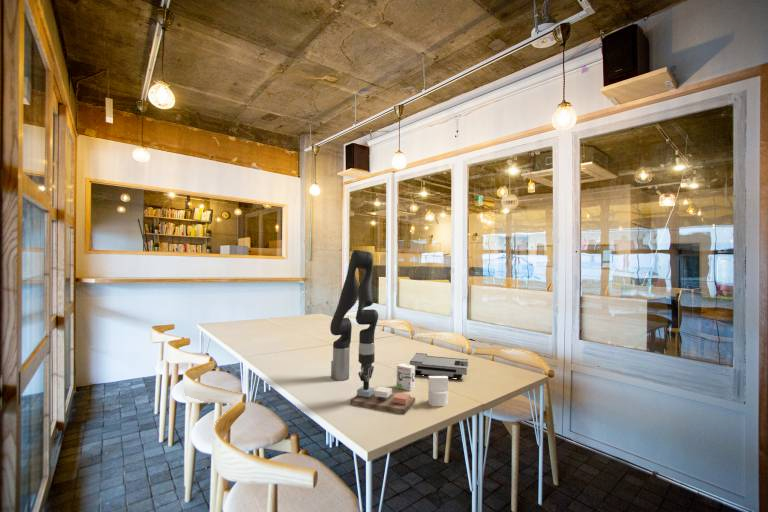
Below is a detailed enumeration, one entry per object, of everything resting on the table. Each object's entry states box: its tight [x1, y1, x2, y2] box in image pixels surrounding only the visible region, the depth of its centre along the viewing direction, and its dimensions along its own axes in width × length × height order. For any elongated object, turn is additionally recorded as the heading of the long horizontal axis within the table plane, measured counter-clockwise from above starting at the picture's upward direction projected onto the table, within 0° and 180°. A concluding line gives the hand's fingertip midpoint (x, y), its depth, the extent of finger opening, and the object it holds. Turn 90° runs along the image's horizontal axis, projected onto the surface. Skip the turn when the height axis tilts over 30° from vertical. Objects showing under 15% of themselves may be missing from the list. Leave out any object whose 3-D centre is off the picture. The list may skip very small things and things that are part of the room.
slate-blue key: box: [356, 386, 375, 397], centre depth 169 cm, size 6×6×2 cm
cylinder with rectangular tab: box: [427, 376, 449, 407], centre depth 167 cm, size 9×9×12 cm
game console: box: [409, 352, 469, 379], centre depth 213 cm, size 21×32×8 cm, turn 74°
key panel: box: [350, 390, 416, 415], centre depth 165 cm, size 26×15×4 cm, turn 68°
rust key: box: [393, 392, 411, 405], centre depth 162 cm, size 6×6×2 cm
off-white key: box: [374, 386, 393, 398], centre depth 165 cm, size 6×6×2 cm
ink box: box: [396, 362, 416, 392], centre depth 185 cm, size 9×5×12 cm, turn 58°
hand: (366, 389), depth 169 cm, fingers closed
